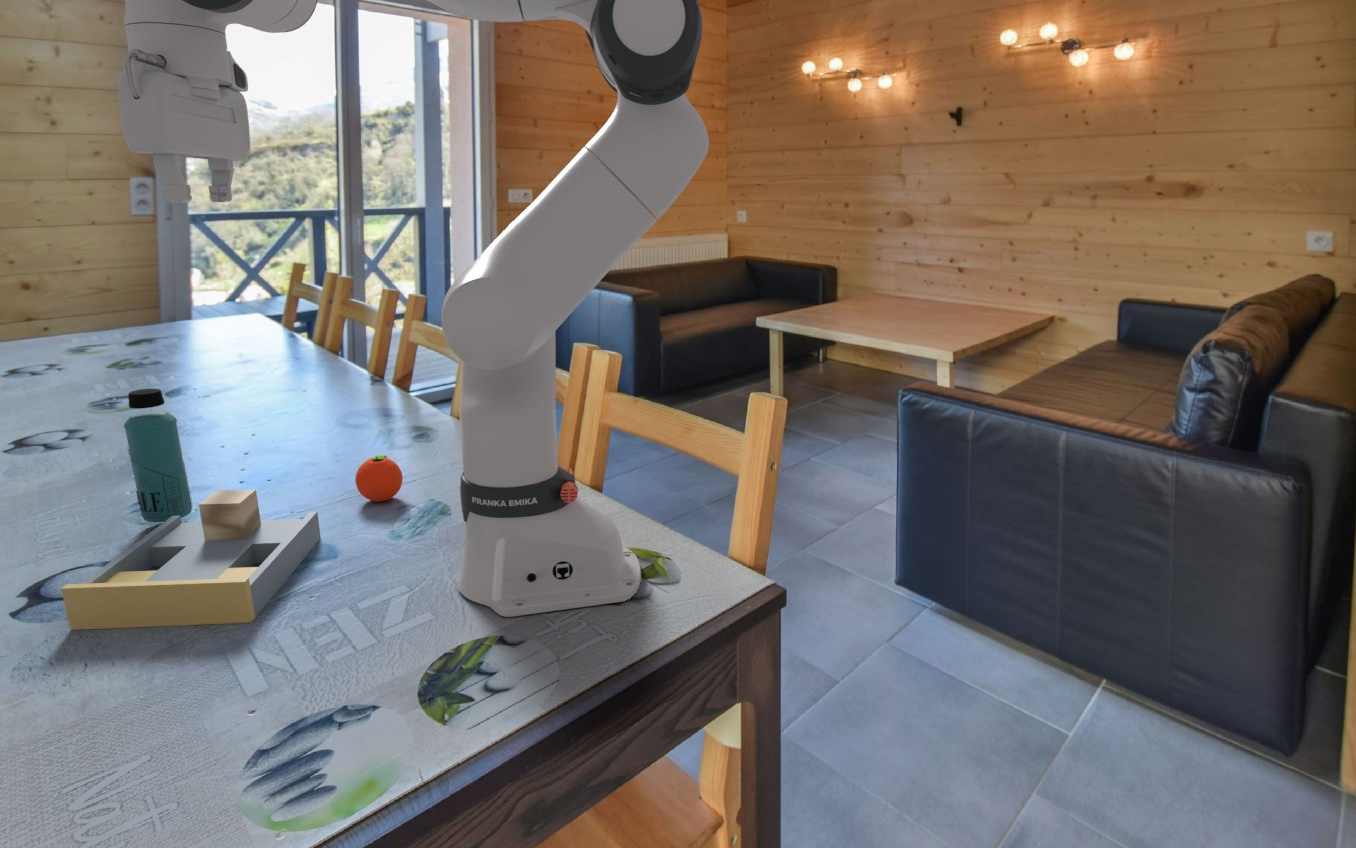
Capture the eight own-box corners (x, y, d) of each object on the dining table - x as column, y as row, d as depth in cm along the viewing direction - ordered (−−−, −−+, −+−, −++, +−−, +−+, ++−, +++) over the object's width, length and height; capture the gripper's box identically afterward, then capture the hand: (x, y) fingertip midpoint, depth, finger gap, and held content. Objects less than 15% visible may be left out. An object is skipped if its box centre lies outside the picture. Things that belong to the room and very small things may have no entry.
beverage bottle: (201, 513, 120) (178, 383, 114) (187, 530, 114) (163, 393, 108) (151, 517, 118) (127, 385, 113) (135, 535, 112) (108, 396, 107)
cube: (261, 524, 109) (255, 489, 107) (245, 539, 104) (239, 503, 102) (222, 525, 108) (216, 490, 107) (204, 540, 103) (198, 504, 102)
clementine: (367, 490, 130) (363, 448, 128) (411, 489, 130) (407, 447, 128) (351, 508, 122) (346, 464, 120) (397, 507, 123) (393, 463, 121)
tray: (177, 543, 110) (171, 509, 108) (320, 538, 111) (316, 504, 110) (70, 630, 88) (61, 588, 86) (251, 622, 89) (244, 581, 88)
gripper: (160, 45, 73) (185, 203, 76) (253, 77, 92) (269, 202, 96) (86, 43, 72) (114, 202, 76) (196, 76, 92) (214, 201, 95)
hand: (202, 202), depth 86 cm, fingers open, 8 cm apart
